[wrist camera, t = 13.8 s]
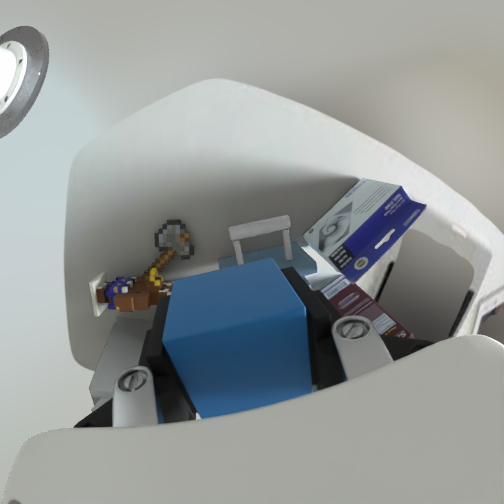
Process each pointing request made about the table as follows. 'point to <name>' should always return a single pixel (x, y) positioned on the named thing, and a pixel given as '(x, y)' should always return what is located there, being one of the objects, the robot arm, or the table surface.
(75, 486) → the robot arm
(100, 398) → the perfume bottle
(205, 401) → the blue cube
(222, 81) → the table surface
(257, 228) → the drawer
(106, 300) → the figurine
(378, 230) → the ink box
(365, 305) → the supplement box
